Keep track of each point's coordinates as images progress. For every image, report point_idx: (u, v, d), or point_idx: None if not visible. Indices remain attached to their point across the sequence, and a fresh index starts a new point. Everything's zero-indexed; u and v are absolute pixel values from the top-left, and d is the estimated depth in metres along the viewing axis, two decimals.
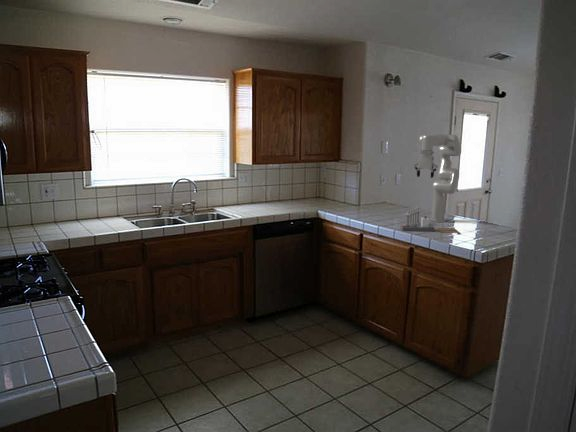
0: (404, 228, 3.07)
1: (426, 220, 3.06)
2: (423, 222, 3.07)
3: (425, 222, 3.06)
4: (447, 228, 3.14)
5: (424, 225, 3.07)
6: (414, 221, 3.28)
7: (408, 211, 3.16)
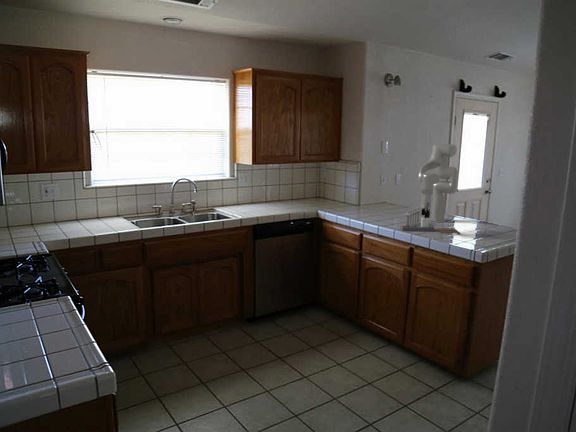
0: (404, 228, 3.07)
1: (426, 220, 3.06)
2: (423, 222, 3.07)
3: (425, 222, 3.06)
4: (447, 228, 3.14)
5: (424, 225, 3.07)
6: (414, 221, 3.28)
7: (408, 211, 3.16)
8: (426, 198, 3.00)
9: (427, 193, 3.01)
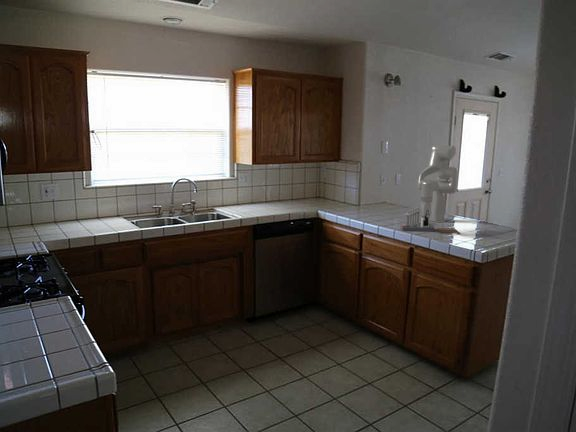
0: (404, 228, 3.07)
1: None
2: None
3: None
4: (447, 228, 3.14)
5: None
6: (414, 221, 3.28)
7: (408, 211, 3.15)
8: (426, 205, 3.01)
9: (427, 200, 3.02)
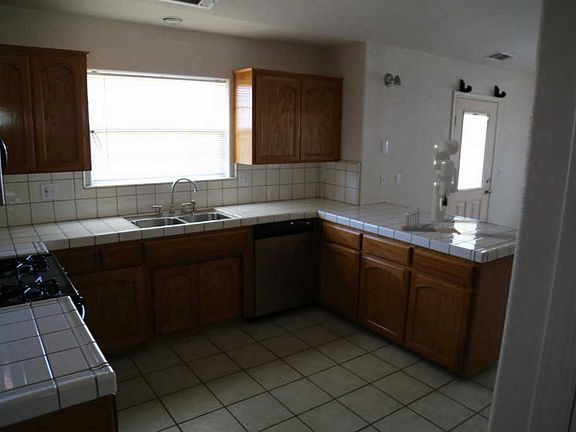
0: (404, 228, 3.07)
1: None
2: None
3: None
4: (447, 228, 3.14)
5: None
6: (414, 221, 3.27)
7: (408, 211, 3.15)
8: (445, 185, 2.98)
9: (446, 180, 2.98)
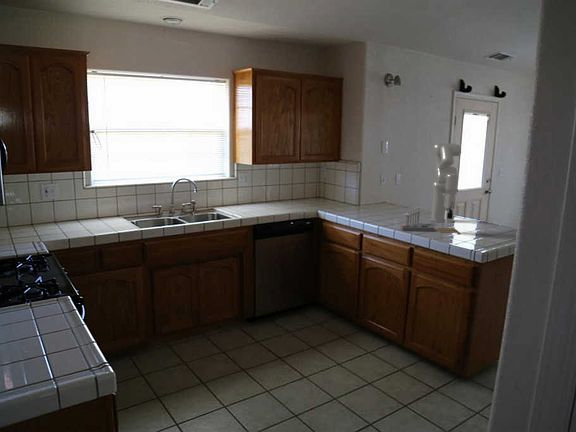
0: (404, 228, 3.07)
1: None
2: (447, 215, 3.04)
3: None
4: (447, 228, 3.14)
5: None
6: (414, 221, 3.27)
7: (408, 211, 3.15)
8: (450, 198, 2.99)
9: (451, 193, 3.00)
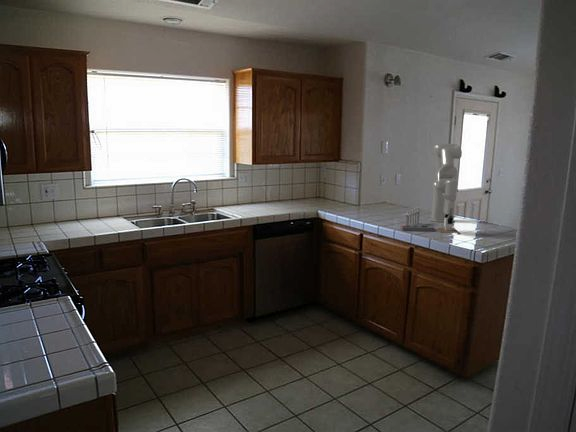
0: (404, 228, 3.07)
1: None
2: (446, 222, 3.06)
3: None
4: None
5: (447, 225, 3.06)
6: (414, 221, 3.27)
7: (408, 211, 3.15)
8: (450, 204, 3.00)
9: (450, 199, 3.00)
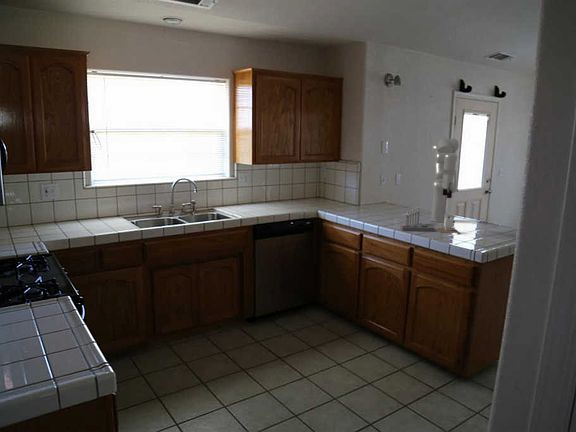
0: (404, 228, 3.07)
1: (449, 220, 3.05)
2: (446, 222, 3.06)
3: (448, 222, 3.05)
4: None
5: (447, 225, 3.06)
6: (414, 221, 3.27)
7: (408, 211, 3.15)
8: (448, 178, 3.00)
9: (449, 173, 3.00)
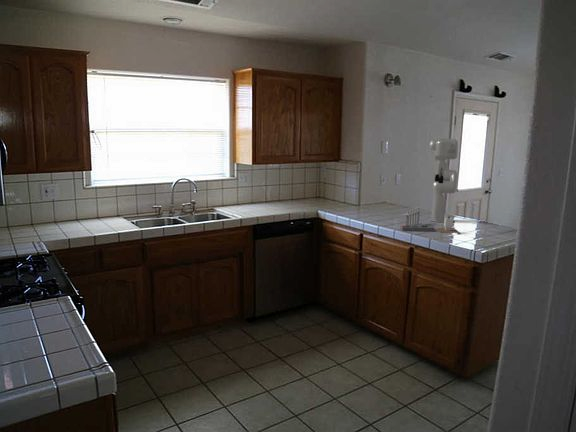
0: (404, 228, 3.07)
1: (449, 220, 3.05)
2: (446, 222, 3.06)
3: (448, 222, 3.05)
4: None
5: (447, 225, 3.06)
6: (414, 221, 3.27)
7: (407, 211, 3.15)
8: (440, 164, 3.08)
9: (441, 159, 3.08)
